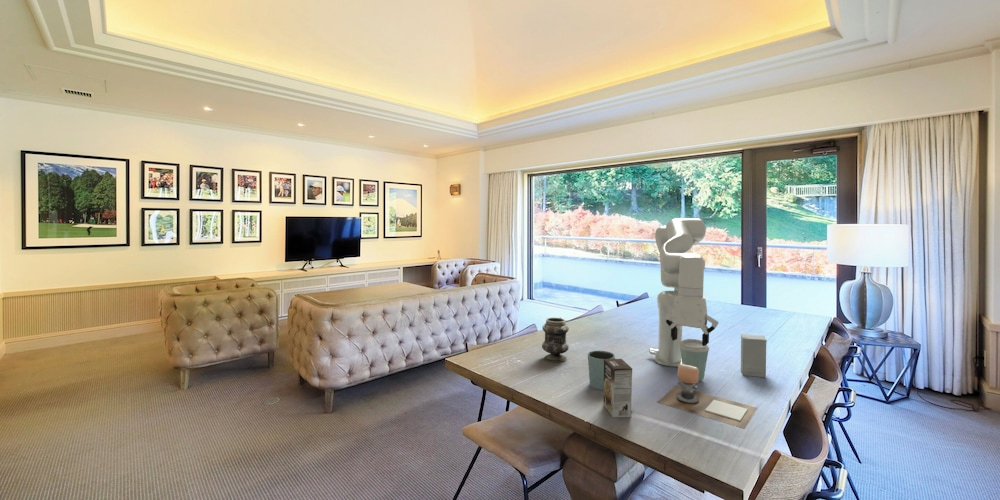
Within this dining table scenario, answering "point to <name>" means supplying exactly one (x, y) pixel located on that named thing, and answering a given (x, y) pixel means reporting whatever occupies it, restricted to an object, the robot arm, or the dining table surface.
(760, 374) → the skincare box
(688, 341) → the disposable coffee cup
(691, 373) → the cap
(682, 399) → the round metal knob
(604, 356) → the teal cup
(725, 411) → the pad
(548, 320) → the apothecary jar
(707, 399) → the board
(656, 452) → the dining table surface
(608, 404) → the coffee box
